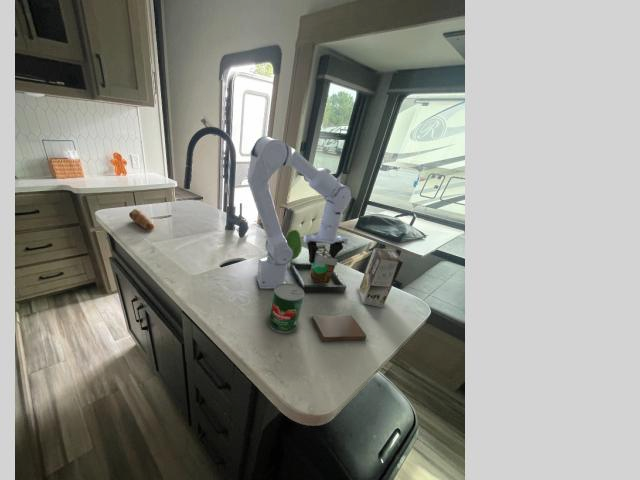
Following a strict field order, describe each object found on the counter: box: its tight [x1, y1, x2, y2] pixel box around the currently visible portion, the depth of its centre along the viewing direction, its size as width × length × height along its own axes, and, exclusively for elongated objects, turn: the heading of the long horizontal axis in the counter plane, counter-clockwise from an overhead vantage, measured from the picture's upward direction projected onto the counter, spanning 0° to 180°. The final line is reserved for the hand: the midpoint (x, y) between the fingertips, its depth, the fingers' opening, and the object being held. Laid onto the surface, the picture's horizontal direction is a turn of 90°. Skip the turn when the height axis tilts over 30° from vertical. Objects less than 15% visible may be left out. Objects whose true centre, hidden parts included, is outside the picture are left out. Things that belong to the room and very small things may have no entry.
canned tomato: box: [268, 282, 305, 334], centre depth 72 cm, size 8×8×11 cm
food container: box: [309, 244, 338, 285], centre depth 94 cm, size 12×6×10 cm, turn 5°
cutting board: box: [311, 314, 367, 342], centre depth 74 cm, size 12×9×2 cm
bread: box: [128, 208, 155, 232], centre depth 129 cm, size 6×19×6 cm, turn 36°
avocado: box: [284, 228, 303, 260], centre depth 107 cm, size 8×8×12 cm
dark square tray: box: [289, 262, 347, 294], centre depth 96 cm, size 15×17×2 cm
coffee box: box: [358, 247, 404, 308], centre depth 85 cm, size 9×6×16 cm
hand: (319, 262), depth 93 cm, fingers closed on food container, 6 cm apart
